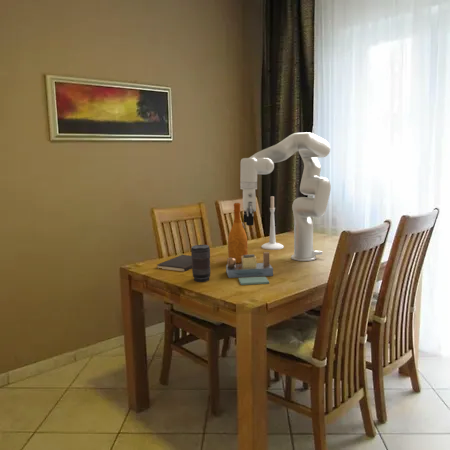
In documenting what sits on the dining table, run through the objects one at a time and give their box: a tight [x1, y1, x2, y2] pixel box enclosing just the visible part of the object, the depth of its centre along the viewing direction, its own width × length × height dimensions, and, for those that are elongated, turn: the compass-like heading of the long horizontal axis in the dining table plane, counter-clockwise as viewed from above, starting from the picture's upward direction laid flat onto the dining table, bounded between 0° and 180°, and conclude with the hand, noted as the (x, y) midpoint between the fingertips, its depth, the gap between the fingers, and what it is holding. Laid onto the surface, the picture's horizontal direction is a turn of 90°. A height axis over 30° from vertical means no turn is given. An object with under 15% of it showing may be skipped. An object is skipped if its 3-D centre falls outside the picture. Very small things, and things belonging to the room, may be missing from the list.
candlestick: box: [261, 195, 284, 251], centre depth 255 cm, size 13×13×30 cm
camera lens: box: [190, 244, 211, 283], centre depth 193 cm, size 8×8×15 cm
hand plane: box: [225, 251, 274, 279], centre depth 202 cm, size 20×10×10 cm, turn 96°
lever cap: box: [241, 254, 257, 268], centre depth 201 cm, size 6×5×5 cm
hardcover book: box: [156, 254, 192, 272], centre depth 222 cm, size 16×23×2 cm
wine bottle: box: [227, 202, 249, 264], centre depth 223 cm, size 10×10×30 cm
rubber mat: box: [237, 276, 270, 286], centre depth 190 cm, size 12×8×1 cm, turn 96°
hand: (248, 223), depth 201 cm, fingers open, 9 cm apart
